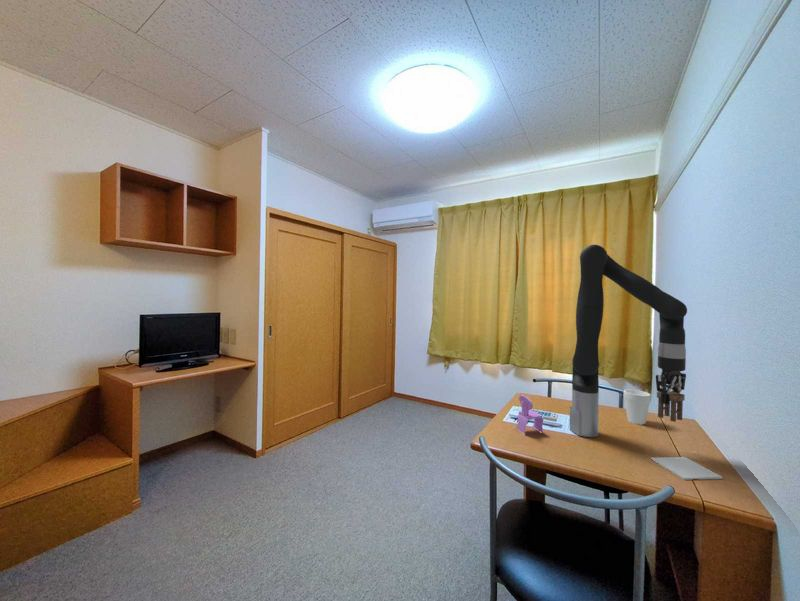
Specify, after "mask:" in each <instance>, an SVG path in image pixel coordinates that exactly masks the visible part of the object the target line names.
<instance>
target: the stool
mask: <svg viewBox="0 0 800 601" xmlns="http://www.w3.org/2000/svg"><path fill="white" fill-rule="evenodd" d="M671 391H672V390H670V396H669V405H666V404H662V403H661V393H660V392H659V391H656V398H658V399H657V400H658V402H657V403H658V406H657V417H658V418H661V419H662V418H664V416H665V417H670V422H677V420H678V421H682V420H683V408H684V407H683V404H684V402H683V401H686V400H685V398H686V397H685V394H684V393H681V392H680V393H676V392H671ZM676 402H677V403H676Z"/></svg>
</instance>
